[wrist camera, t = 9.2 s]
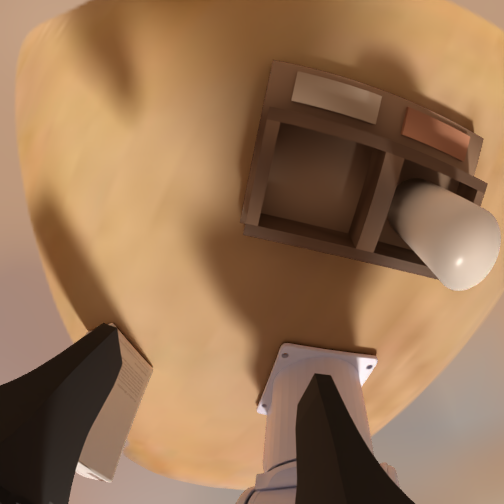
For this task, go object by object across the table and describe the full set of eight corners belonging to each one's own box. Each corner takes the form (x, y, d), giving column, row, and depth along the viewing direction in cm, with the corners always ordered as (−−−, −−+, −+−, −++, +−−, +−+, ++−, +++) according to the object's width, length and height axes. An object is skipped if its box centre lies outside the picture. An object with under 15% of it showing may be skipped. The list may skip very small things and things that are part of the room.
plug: (427, 245, 16) (477, 297, 10) (378, 228, 15) (421, 280, 10) (448, 190, 14) (511, 224, 9) (399, 168, 14) (457, 194, 9)
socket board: (432, 262, 17) (451, 286, 14) (242, 216, 17) (234, 236, 14) (474, 136, 13) (503, 143, 10) (273, 63, 13) (272, 51, 10)
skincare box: (86, 331, 23) (19, 430, 12) (115, 319, 22) (41, 435, 11) (127, 376, 25) (79, 477, 14) (159, 369, 24) (112, 485, 13)
